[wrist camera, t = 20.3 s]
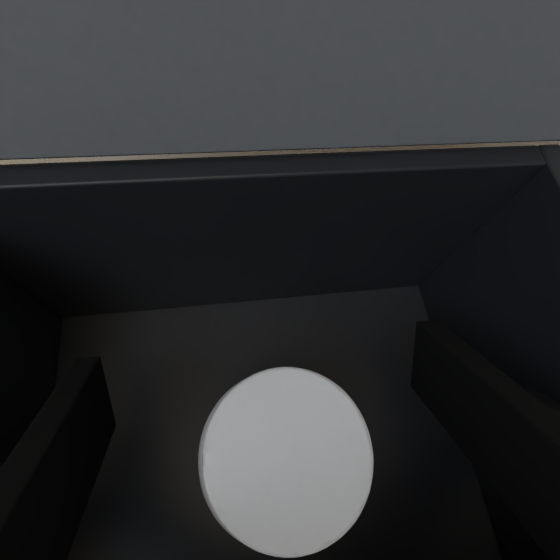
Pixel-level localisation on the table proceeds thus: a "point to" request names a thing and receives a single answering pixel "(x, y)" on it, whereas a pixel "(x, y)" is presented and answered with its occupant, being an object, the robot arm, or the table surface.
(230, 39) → the grey box lid
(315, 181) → the box
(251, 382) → the pill bottle
